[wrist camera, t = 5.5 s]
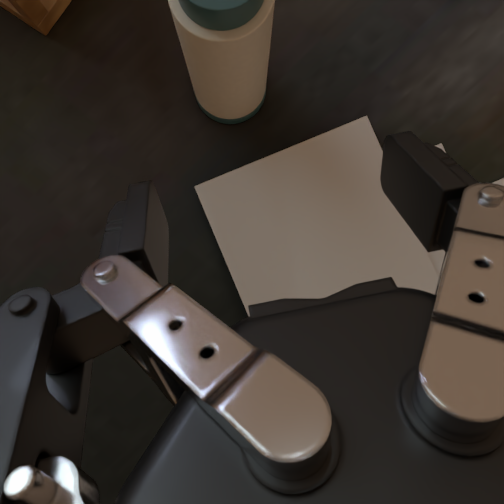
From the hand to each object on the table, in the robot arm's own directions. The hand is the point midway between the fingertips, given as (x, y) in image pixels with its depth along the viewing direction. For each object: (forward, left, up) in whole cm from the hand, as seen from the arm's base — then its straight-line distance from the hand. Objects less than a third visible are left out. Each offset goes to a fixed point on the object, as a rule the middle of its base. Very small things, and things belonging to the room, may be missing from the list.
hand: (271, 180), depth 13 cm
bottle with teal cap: (+8, +8, -16) cm, 19 cm away
